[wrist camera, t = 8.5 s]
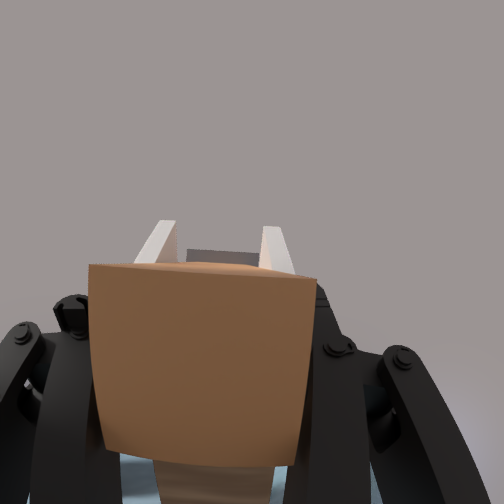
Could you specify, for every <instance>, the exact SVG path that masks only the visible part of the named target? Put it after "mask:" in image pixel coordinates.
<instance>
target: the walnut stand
mask: <svg viewBox="0 0 504 504" xmlns="http://www.w3.org/2000/svg"><path fill="white" fill-rule="evenodd" d="M153 464H154V470H155V476H156V481H157V486H158V491H159V495H160V500H161V504H269V501H270V495H271V489H272V483H273V476H274V470H275V467H215V466H200V465H189V464H180V463H172V462H165V461H159V460H153Z"/></svg>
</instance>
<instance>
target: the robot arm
mask: <svg viewBox="0 0 504 504" xmlns="http://www.w3.org/2000/svg"><path fill="white" fill-rule="evenodd" d="M174 262H177V242H176V221H170V220H160V221H159V223H158V224H157V226H156V227H155V229H154V230H153V232H152V234H151V235H150V237H149V238H148V240H147V241H146V243H145V245H144V246H143V248H142V250H141V251H140V253H139V255H138V257H137V258H136V260H135V261H134V263H174ZM259 267H260V268H264V269H269V270H275V271H279V272H284V273H289V274H294V275H296V274H295V271H294V268H293V265H292V262H291V259H290V256H289V253H288V250H287V246H286V243H285V240H284V237H283V234H282V231H281V228H280V227H271V226H264V228H263V236H262V245H261V253H260V263H259ZM53 310H54V313H55V316H56V318H57V321H58V323H59V326H60V328H61V332H58V333H44V334H41V332H40V329H39V328H38V326H37V325H36V324H35V323H33V322H22V323H19V324H17V325H16V326H14V327H13V328H12V329H11V330H10V331H9V332H8V334H7V335H6V336H5V338H4V339H3V340H2V342H1V343H0V504H26V503H27V500H28V496H29V492H30V504H123V503H122V491H121V476H120V453H118V452H114V451H110V450H106V447H105V442H104V438H103V433H102V429H101V424H100V419H99V413H98V408H97V402H96V395H95V388H94V381H93V372H92V363H91V352H90V338H89V316H88V296H86V295H80V294H77V295H70V296H68V297H65V298H63V299H61V300H60V301H59V302H57V303H56V305H55V306H54V308H53ZM27 379H28V380H29V382H30V384H29V385H28V386H27V387H25V386H24V384H25V382H26V380H27ZM370 463H371V466H372V469H373V472H374V475H375V478H376V482H377V485H378V488H379V492H380V495H381V498H382V502H383V504H491V503H490V500H489V497H488V494H487V491H486V489H485V486H484V484H483V481H482V479H481V476H480V474H479V471H478V469H477V467H476V464H475V462H474V460H473V458H472V456H471V453H470V451H469V449H468V447H467V445H466V443H465V440H464V438H463V436H462V434H461V432H460V430H459V428H458V426H457V424H456V422H455V420H454V418H453V416H452V415H451V412H450V410H449V409H448V407H447V405H446V403H445V401H444V399H443V397H442V396H441V394H440V392H439V390H438V388H437V387H436V385H435V383H434V381H433V380H432V378H431V376H430V374H429V373H428V371H427V369H426V368H425V366H424V364H423V363H422V361H421V359H420V358H419V356H418V355H417V354H416V353H415V352H414V351H413V350H411V349H410V348H407V347H405V346H402V345H393V346H391V347H388V348H387V349H386V350H385V351H384V353H383V355H378V354H373V353H368V352H363V351H360V350H358V349H357V347H356V345H355V343H354V342H353V341H352V340H351V339H350V338H348V337H346V336H344V335H342V334H341V331H340V329H339V326H338V324H337V321H336V319H335V316H334V314H333V311H332V309H331V308H330V304H329V301H328V300H327V297H326V295H325V292H324V289H322V288H321V287H320V286H319V285H318V284H317V285H316V299H315V312H314V323H313V334H312V344H311V353H310V362H309V371H308V379H307V387H306V394H305V401H304V408H303V415H302V421H301V427H300V433H299V439H298V445H297V451H296V456H295V461H294V465H291V466H288V468H287V476H286V484H285V491H284V498H283V504H371V477H370Z"/></svg>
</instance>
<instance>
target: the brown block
mask: <svg viewBox="0 0 504 504" xmlns="http://www.w3.org/2000/svg"><path fill="white" fill-rule="evenodd" d="M258 261H259V253H245V252H228V251H212V250H194V249H187V259H186V262H174V263H133V264H89V275H88V316H89V338H90V352H91V363H92V372H93V381H94V388H95V395H96V402H97V408H98V413H99V419H100V424H101V429H102V433H103V438H104V442H105V447H106V450H110V451H114V452H118V453H123V454H127V455H132V456H137V457H142V458H147V459H153V460H159V461H165V462H172V463H180V464H189V465H200V466H215V467H276V466H291V465H294V461H295V456H296V451H297V445H298V439H299V433H300V427H301V421H302V415H303V408H304V401H305V394H306V387H307V379H308V371H309V362H310V353H311V344H312V334H313V323H314V312H315V299H316V285H317V279H313V278H309V277H304V276H299V275H294V274H289V273H284V272H279V271H275V270H269V269H264V268H260V267H258Z"/></svg>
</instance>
